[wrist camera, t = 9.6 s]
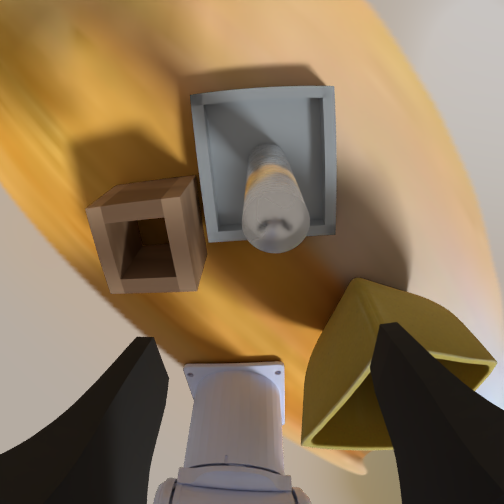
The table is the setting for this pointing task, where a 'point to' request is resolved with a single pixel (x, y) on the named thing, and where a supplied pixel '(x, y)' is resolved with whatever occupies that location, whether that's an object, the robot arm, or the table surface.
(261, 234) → the cylinder
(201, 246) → the walnut block
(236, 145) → the tray
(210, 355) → the table surface
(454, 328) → the flower pot
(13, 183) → the table surface
